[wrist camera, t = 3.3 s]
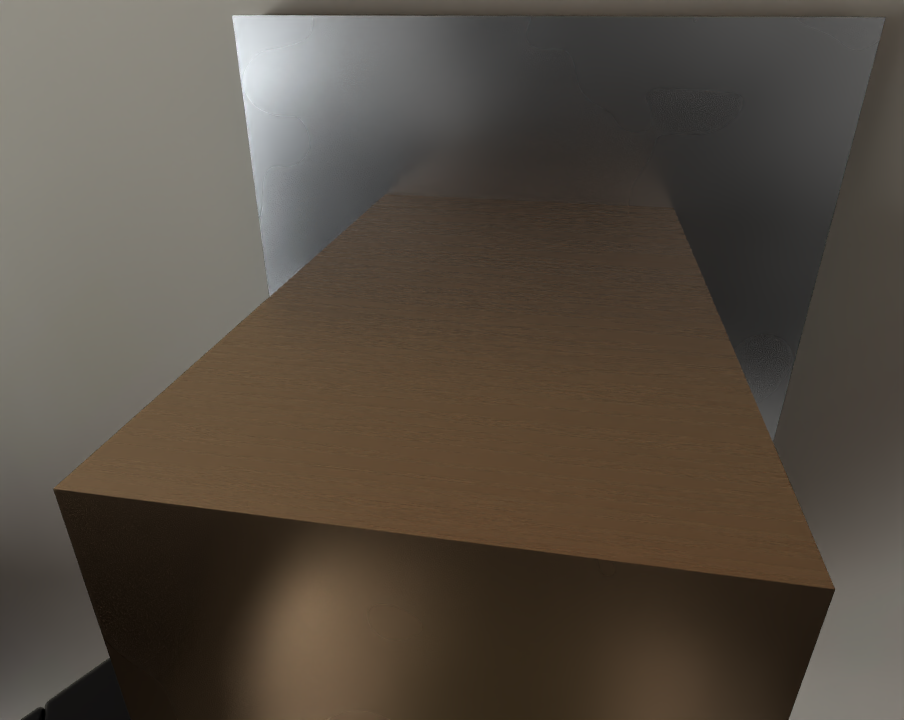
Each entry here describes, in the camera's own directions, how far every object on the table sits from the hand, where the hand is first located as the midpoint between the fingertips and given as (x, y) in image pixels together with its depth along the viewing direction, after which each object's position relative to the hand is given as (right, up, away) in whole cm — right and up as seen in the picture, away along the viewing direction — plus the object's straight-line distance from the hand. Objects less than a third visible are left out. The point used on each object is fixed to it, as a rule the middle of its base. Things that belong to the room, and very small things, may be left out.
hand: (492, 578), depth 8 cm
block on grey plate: (+1, +1, +3) cm, 3 cm away
